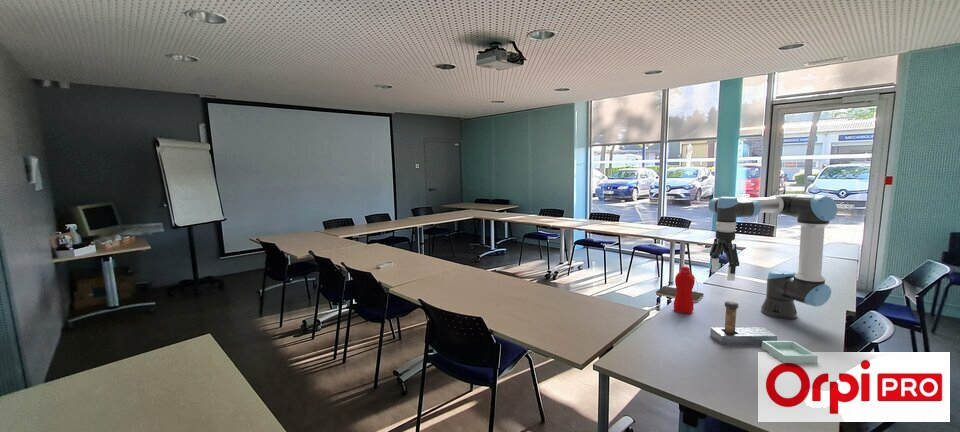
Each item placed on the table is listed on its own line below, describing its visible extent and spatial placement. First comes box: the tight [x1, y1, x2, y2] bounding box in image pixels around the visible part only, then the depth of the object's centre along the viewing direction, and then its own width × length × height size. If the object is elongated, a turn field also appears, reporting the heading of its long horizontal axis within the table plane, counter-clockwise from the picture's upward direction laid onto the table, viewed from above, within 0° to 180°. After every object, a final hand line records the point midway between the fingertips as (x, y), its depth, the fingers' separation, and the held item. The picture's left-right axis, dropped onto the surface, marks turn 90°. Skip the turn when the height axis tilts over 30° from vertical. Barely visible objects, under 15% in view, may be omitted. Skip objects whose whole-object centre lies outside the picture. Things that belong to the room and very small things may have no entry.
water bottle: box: [673, 265, 699, 315], centre depth 208 cm, size 9×11×25 cm
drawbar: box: [709, 326, 778, 346], centre depth 174 cm, size 24×9×4 cm, turn 87°
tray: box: [761, 340, 819, 364], centre depth 160 cm, size 13×13×3 cm
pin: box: [724, 300, 739, 334], centre depth 174 cm, size 5×5×18 cm
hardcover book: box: [655, 285, 705, 304], centre depth 235 cm, size 16×23×2 cm
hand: (722, 276), depth 176 cm, fingers open, 13 cm apart
